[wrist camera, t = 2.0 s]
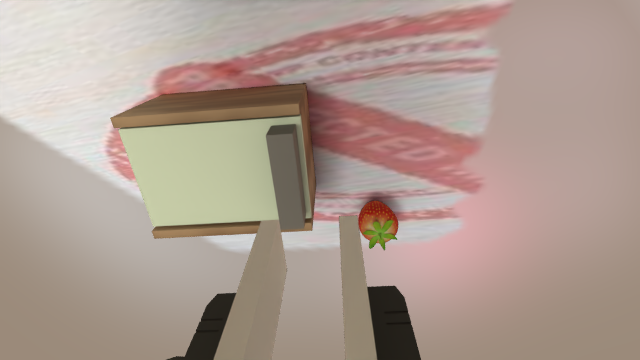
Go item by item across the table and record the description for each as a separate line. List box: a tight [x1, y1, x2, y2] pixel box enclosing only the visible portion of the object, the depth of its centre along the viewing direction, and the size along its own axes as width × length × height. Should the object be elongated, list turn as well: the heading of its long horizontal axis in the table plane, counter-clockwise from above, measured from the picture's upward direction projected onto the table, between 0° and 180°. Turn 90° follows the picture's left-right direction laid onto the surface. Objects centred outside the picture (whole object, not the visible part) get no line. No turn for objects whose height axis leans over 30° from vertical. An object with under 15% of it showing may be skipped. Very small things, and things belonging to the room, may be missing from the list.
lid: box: [118, 114, 312, 230], centre depth 33 cm, size 11×18×4 cm, turn 95°
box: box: [110, 83, 316, 239], centre depth 39 cm, size 14×18×11 cm
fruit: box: [358, 201, 398, 250], centre depth 44 cm, size 5×5×8 cm
